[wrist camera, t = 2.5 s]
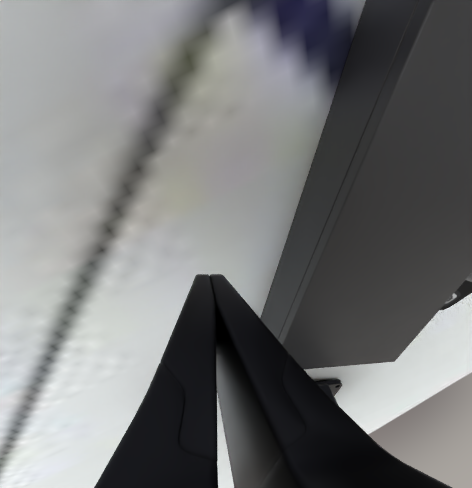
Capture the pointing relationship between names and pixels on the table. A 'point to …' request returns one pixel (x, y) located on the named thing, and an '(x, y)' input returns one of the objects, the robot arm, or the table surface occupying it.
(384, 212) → the lid
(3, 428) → the table surface
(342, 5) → the table surface
